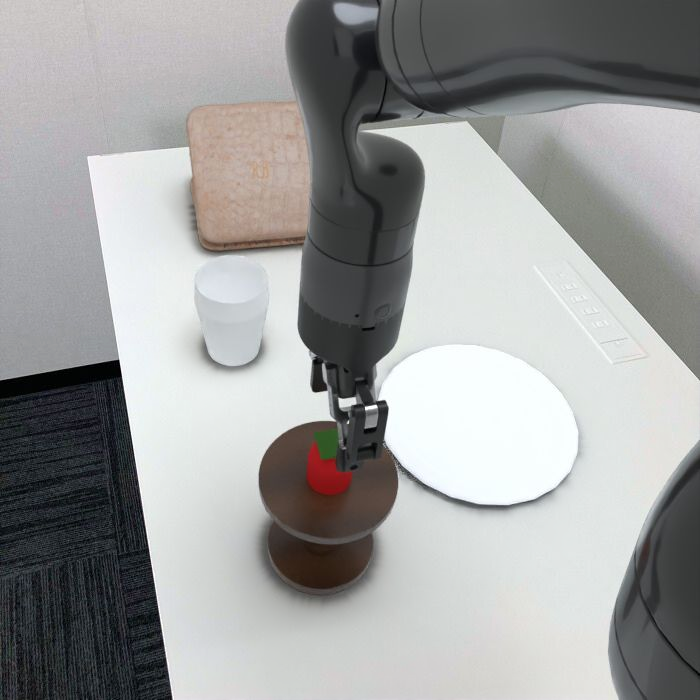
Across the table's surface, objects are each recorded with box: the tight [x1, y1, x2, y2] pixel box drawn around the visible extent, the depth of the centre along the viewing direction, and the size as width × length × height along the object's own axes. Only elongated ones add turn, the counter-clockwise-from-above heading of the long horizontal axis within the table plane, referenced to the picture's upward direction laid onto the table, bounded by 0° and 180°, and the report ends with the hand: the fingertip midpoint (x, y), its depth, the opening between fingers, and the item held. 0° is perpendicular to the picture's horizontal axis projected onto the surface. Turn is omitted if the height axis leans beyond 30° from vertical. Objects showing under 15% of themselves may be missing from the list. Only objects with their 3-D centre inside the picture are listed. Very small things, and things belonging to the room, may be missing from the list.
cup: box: [193, 254, 270, 367], centre depth 92 cm, size 9×9×12 cm
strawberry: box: [306, 429, 353, 495], centre depth 66 cm, size 4×4×5 cm
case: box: [185, 100, 310, 252], centre depth 111 cm, size 20×21×16 cm
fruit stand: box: [258, 420, 399, 596], centre depth 73 cm, size 13×13×13 cm
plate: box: [377, 343, 579, 507], centre depth 91 cm, size 25×25×1 cm
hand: (335, 426), depth 63 cm, fingers open, 8 cm apart
